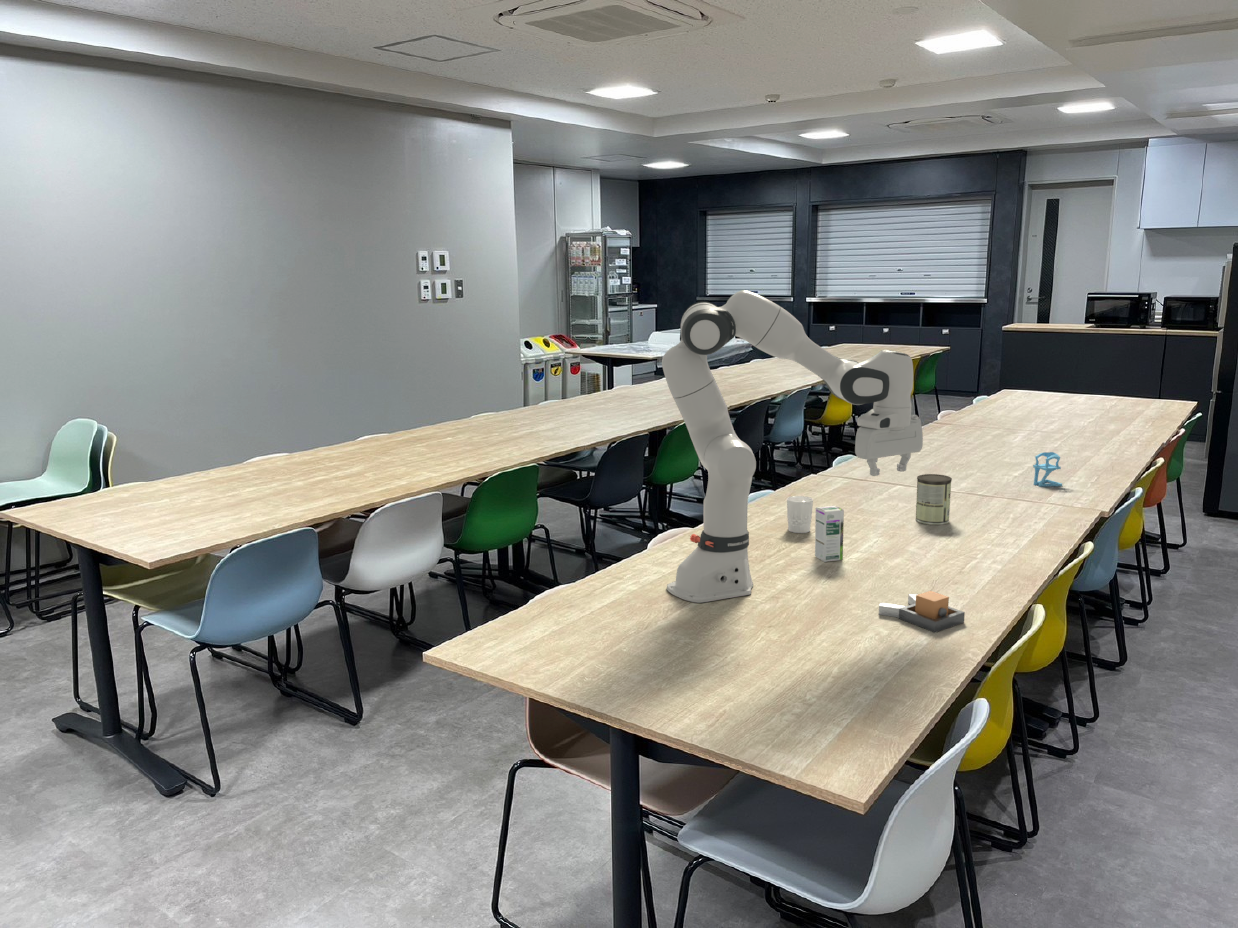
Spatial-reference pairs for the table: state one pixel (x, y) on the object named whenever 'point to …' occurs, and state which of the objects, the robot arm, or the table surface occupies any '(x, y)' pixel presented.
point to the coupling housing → (920, 620)
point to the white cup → (799, 513)
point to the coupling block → (932, 604)
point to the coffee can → (933, 499)
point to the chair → (1046, 469)
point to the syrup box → (829, 533)
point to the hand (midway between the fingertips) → (888, 473)
